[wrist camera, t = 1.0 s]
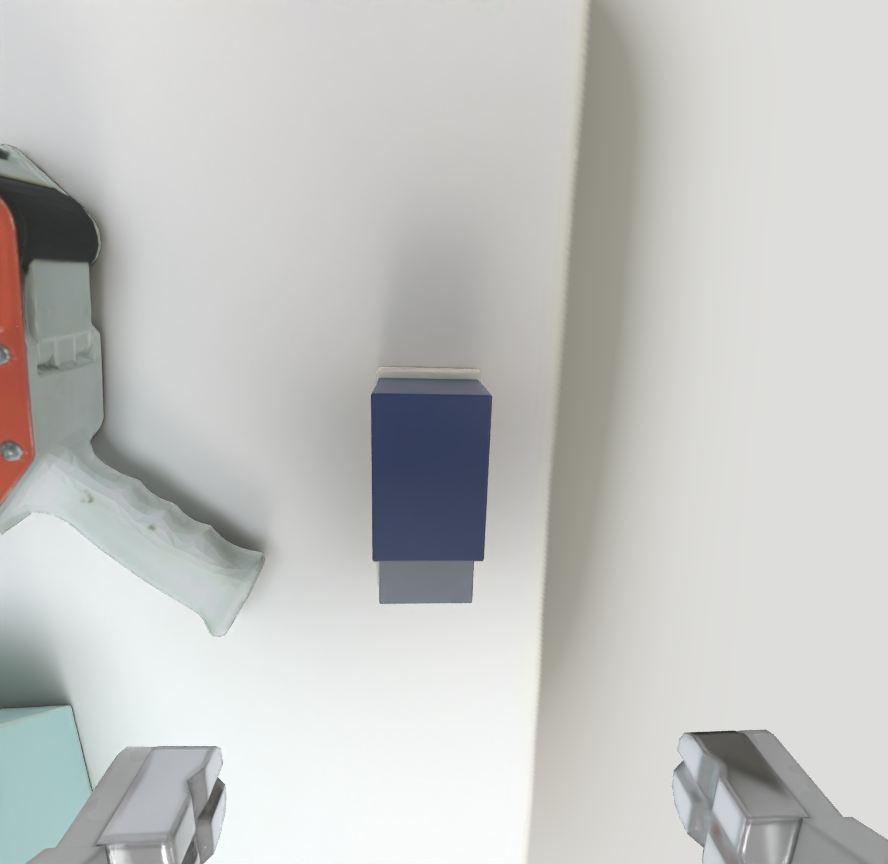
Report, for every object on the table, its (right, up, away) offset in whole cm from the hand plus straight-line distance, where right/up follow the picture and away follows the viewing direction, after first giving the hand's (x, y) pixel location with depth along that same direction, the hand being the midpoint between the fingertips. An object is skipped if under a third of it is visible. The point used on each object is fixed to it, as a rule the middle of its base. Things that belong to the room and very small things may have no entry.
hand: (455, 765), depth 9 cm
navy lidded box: (-1, +4, +14) cm, 15 cm away
